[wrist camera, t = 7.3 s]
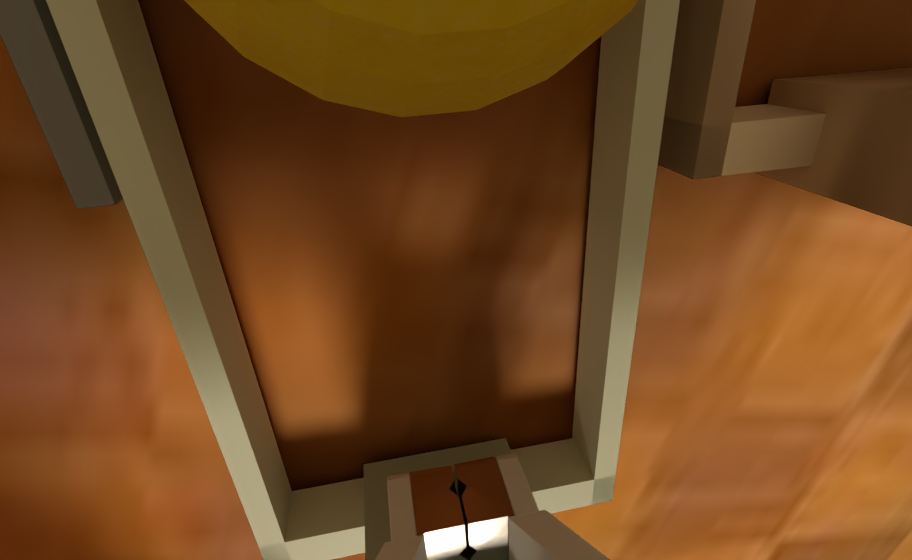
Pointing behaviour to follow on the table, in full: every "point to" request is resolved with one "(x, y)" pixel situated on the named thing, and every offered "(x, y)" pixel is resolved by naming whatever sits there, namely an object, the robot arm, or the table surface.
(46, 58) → the lane guides
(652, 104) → the frame
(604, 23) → the fruit
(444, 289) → the table surface
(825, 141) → the frame
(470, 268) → the table surface
